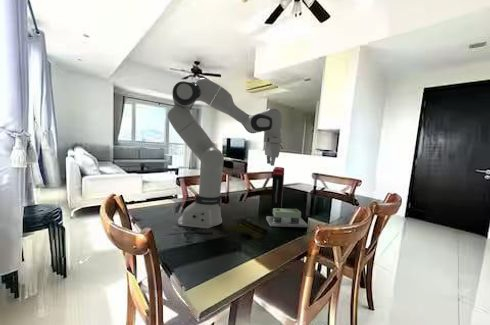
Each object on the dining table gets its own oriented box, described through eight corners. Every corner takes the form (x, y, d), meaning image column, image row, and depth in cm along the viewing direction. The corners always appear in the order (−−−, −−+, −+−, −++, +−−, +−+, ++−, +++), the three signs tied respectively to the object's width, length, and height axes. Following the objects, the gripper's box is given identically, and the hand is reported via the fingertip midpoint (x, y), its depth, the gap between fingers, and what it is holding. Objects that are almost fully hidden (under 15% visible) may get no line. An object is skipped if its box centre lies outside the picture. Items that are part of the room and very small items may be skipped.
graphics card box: (280, 214, 135) (284, 170, 133) (269, 213, 137) (272, 169, 134) (282, 206, 152) (285, 167, 149) (271, 205, 153) (274, 166, 151)
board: (275, 217, 117) (275, 211, 117) (272, 213, 123) (273, 208, 123) (300, 218, 119) (301, 212, 119) (297, 214, 125) (297, 209, 125)
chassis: (270, 226, 115) (271, 211, 114) (266, 218, 126) (267, 205, 125) (307, 227, 117) (308, 212, 116) (300, 219, 128) (301, 206, 127)
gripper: (263, 139, 131) (261, 162, 132) (270, 139, 111) (268, 166, 112) (273, 139, 132) (271, 162, 133) (282, 139, 111) (280, 167, 113)
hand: (270, 164), depth 122 cm, fingers open, 8 cm apart
